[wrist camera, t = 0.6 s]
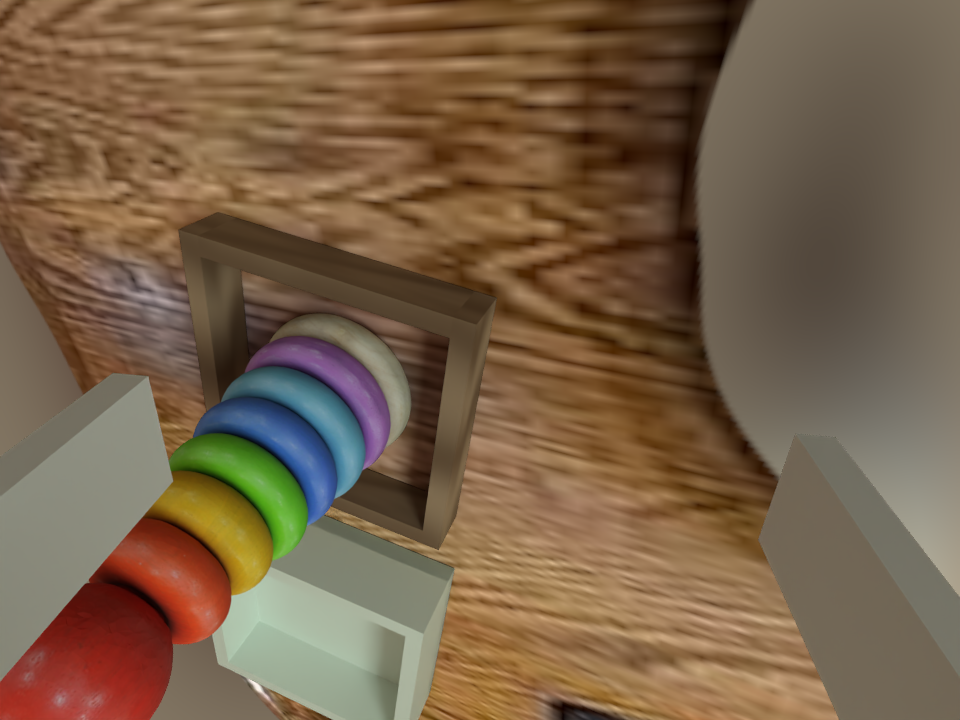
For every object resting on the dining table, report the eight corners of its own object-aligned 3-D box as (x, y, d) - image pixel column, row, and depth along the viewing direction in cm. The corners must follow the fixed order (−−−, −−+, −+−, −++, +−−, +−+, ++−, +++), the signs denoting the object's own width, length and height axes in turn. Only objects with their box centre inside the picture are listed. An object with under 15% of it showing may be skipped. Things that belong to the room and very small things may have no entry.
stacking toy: (286, 413, 34) (-70, 754, 19) (274, 288, 29) (-205, 605, 14) (413, 457, 32) (134, 872, 17) (422, 332, 27) (52, 745, 12)
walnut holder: (217, 212, 28) (178, 229, 26) (496, 297, 25) (476, 324, 23) (242, 432, 36) (213, 458, 34) (456, 515, 33) (438, 550, 31)
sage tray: (241, 481, 39) (191, 531, 35) (454, 568, 36) (423, 634, 32) (257, 612, 47) (218, 663, 44) (430, 691, 44) (403, 753, 41)
